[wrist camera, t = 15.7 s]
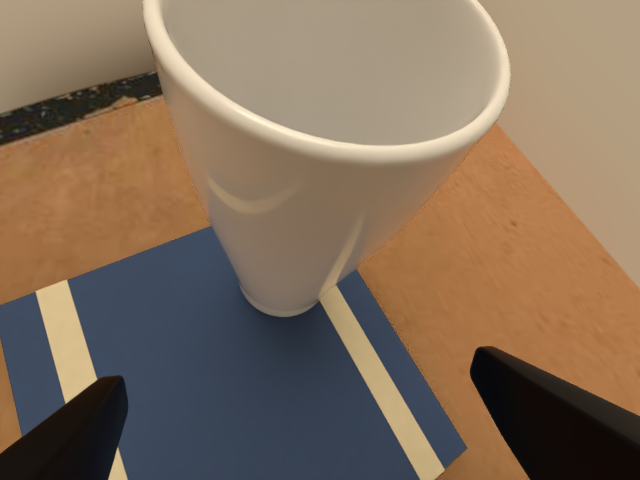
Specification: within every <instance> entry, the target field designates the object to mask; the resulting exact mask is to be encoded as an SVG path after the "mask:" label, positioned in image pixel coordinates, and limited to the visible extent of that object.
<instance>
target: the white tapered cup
mask: <svg viewBox="0 0 640 480" xmlns="http://www.w3.org/2000/svg"><path fill="white" fill-rule="evenodd" d="M142 10H143V20H144V26H145V30H146V33H147V37H148V41H149V44H150V46H151V50H152V54H153V58H154V62H155V66H156V70H157V74H158V78H159V82H160V85H161V89H162V93H163V97H164V100H165V104H166V108H167V111H168V115H169V119H170V122H171V125H172V129H173V132H174V135H175V139H176V142H177V145H178V148H179V151H180V154H181V157H182V160H183V163H184V166H185V168H186V171H187V174H188V176H189V179H190V181H191V184H192V186H193V189H194V191H195V194H196V196H197V198H198V201H199V203H200V205H201V207H202V209H203V211H204V213H205V215H206V217H207V220H208V222H209V223H210V225H211V227H212V229H213V231H214V233H215V235H216V237H217V239H218V241H219V243H220V245H221V246H222V248H223V250H224V252H225V254H226V256H227V258H228V260H229V262H230V264H231V266H232V268H233V270H234V272H235V274H236V276H237V279H238V283H239V286H240V289H241V291H242V293H243V295H244V296H245V298H246V299H247V300H248V302H249V303H250V304H251V305H252V306H254V307H255V308H256V309H258V310H259V311H261V312H263V313H265V314H268V315H271V316H276V317H291V316H296V315H299V314H302V313H304V312H306V311H308V310H309V309H311V308H312V307H313V306H314V305H316V304H317V303H318V301H319V300H320V299H321V298H322V296H323V295H325V294H326V293H327V292H328V291H329V290H331V289H332V288H333V287H334V286H336V285H337V284H338V283H339V282H341V281H342V280H343V279H344V278H346V277H347V276H348V275H350V274H351V273H352V272H353V271H355V270H356V269H357V268H359V267H360V266H361V265H362V264H364V263H365V262H366V261H367V260H369V259H370V258H371V257H372V256H374V255H375V254H376V253H377V252H379V251H380V250H381V249H382V248H383V247H384V246H386V245H387V244H388V243H389V242H390V241H391V240H392V239H393V238H394V237H395V236H396V235H397V234H399V233H400V232H401V231H402V230H403V229H404V228H405V227H406V226H407V225H408V224H409V223H410V222H411V221H412V220H413V219H414V218H415V217H416V216H417V215H418V214H419V212H420V211H421V210H422V209H423V208H424V207H425V206H426V205H427V204H428V203H429V201H430V200H431V199H432V198H433V197H434V196H435V195H436V193H437V192H438V191H439V190H440V189H441V188H442V186H443V185H444V184H445V183H446V182H447V181H448V179H449V178H450V177H451V176H452V174H453V173H454V172H455V171H456V170H457V168H458V167H459V166H460V165H461V164H462V162H463V161H464V160H465V159H466V157H467V156H468V155H469V154H470V152H471V151H472V150H473V149H474V147H475V146H476V145H477V144H478V142H479V141H480V140H481V139H482V138H483V136H484V135H485V134H486V133H487V132H488V131H489V130H490V128H491V127H492V126H493V125H494V124H495V122H496V121H497V119H498V117H499V116H500V114H501V112H502V111H503V109H504V106H505V104H506V101H507V98H508V95H509V90H510V82H511V70H510V61H509V57H508V52H507V49H506V46H505V44H504V41H503V39H502V37H501V34H500V32H499V30H498V28H497V27H496V25H495V24H494V22H493V20H492V19H491V17H490V16H489V14H488V13H487V12H486V10H485V9H484V8H483V7H482V5H481V4H480V3H479V2H478V1H477V0H143V4H142Z"/></svg>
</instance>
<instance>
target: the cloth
mask: <svg viewBox="0 0 640 480" xmlns="http://www.w3.org/2000/svg"><path fill="white" fill-rule="evenodd" d="M0 338H1V343H2V347H3V352H4V356H5V361H6V365H7V370H8V375H9V379H10V384H11V388H12V393H13V397H14V402H15V406H16V411H17V415H18V420H19V424H20V429H21V433H22V437H23V436H24V435H25V434H27V433H28V432H29V431H31V430H32V429H33V428H34V427H36V426H37V425H38V424H40V423H41V422H42V421H44V420H45V419H46V418H48V417H49V416H50V415H52V414H53V413H54V412H55V411H57V410H58V409H59V408H61V407H62V406H63V405H65V404H66V403H67V402H69V401H70V400H71V399H73V398H74V397H75V396H76V395H78V394H79V393H80V392H82V391H83V390H84V389H86V388H87V387H88V386H90V385H91V384H92V383H94V382H95V381H96V380H97V379H99V378H101V377H104V376H115V375H121V376H123V378H124V380H125V386H126V392H127V397H128V414H127V417H126V421H125V424H124V428H123V431H122V434H121V438H120V441H119V445H118V448H117V452H116V455H115V458H114V462H113V465H112V469H111V472H110V476H109V479H108V480H435V479H436V478H437V477H438V476H439V475H440V474H441V473H442V472H443V471H444V470H445V468H446V467H447V466H448V465H449V464H450V463H452V462H453V461H454V460H455V459H456V458H457V457H458V456H459V455H460V454H461V453H462V452H463V451H465V450H466V449H467V447H466V445H465V444H464V442H463V440H462V439H461V437H460V436H459V434H458V432H457V431H456V429H455V427H454V426H453V424H452V423H451V421H450V419H449V418H448V416H447V415H446V413H445V411H444V410H443V408H442V406H441V405H440V403H439V402H438V400H437V398H436V397H435V395H434V394H433V392H432V390H431V389H430V387H429V385H428V384H427V382H426V381H425V379H424V377H423V376H422V374H421V373H420V371H419V369H418V368H417V366H416V364H415V363H414V361H413V360H412V358H411V356H410V355H409V353H408V352H407V350H406V348H405V347H404V345H403V344H402V342H401V340H400V339H399V337H398V335H397V334H396V332H395V331H394V329H393V327H392V326H391V324H390V323H389V321H388V319H387V318H386V316H385V314H384V313H383V311H382V310H381V308H380V306H379V305H378V303H377V302H376V300H375V298H374V297H373V295H372V293H371V292H370V290H369V289H368V287H367V285H366V284H365V282H364V281H363V279H362V277H361V276H360V274H359V272H358V271H357V269H356V270H355V271H353V272H352V273H351V274H350V275H348V276H347V277H346V278H344V279H343V280H342V281H341V282H339V283H338V284H337V285H336V286H334V287H333V288H332V289H331V290H329V291H328V292H327V293H326V294H325V295H323V296H322V298H321V299H320V300H319V301H318V303H317V304H316V305H314V306H313V307H312V308H311V309H309V310H308V311H306V312H304V313H302V314H299V315H296V316H291V317H276V316H271V315H268V314H265V313H263V312H261V311H259V310H258V309H256V308H255V307H254V306H252V305H251V304H250V303H249V302H248V300H247V299H246V298H245V296H244V295H243V293H242V291H241V289H240V286H239V283H238V279H237V276H236V274H235V272H234V270H233V268H232V266H231V264H230V262H229V260H228V258H227V256H226V254H225V252H224V250H223V248H222V246H221V245H220V243H219V241H218V239H217V237H216V235H215V233H214V231H213V229H212V227H211V226H210V227H207V228H205V229H202V230H199V231H197V232H194V233H191V234H189V235H186V236H183V237H181V238H178V239H175V240H173V241H170V242H167V243H165V244H162V245H159V246H157V247H154V248H152V249H149V250H146V251H144V252H141V253H138V254H136V255H133V256H130V257H128V258H125V259H122V260H120V261H117V262H114V263H112V264H109V265H106V266H104V267H101V268H98V269H96V270H93V271H90V272H88V273H85V274H82V275H80V276H77V277H74V278H72V279H69V280H64V281H61V282H59V283H56V284H53V285H51V286H48V287H45V288H43V289H40V290H37V291H36V292H34V293H32V294H29V295H26V296H24V297H21V298H18V299H16V300H13V301H11V302H8V303H5V304H3V305H0Z"/></svg>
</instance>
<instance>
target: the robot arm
mask: <svg viewBox="0 0 640 480" xmlns="http://www.w3.org/2000/svg"><path fill="white" fill-rule="evenodd" d="M470 376H471V379H472V381H473V383H474V385H475V387H476V389H477V391H478V393H479V394H480V396H481V398H482V400H483V402H484V404H485V406H486V407H487V409H488V411H489V413H490V415H491V417H492V419H493V421H494V422H495V424H496V426H497V428H498V430H499V431H500V433H501V435H502V436H503V438H504V440H505V441H506V443H507V444H508V446H509V448H510V449H511V451H512V452H513V454H514V455H515V457H516V458H517V460H518V462H519V463H520V465H521V466H522V468H523V469H524V471H525V472H526V474H527V475H528V477H529V479H530V480H640V416H638V415H636V414H634V413H632V412H630V411H628V410H625V409H623V408H621V407H619V406H617V405H615V404H613V403H611V402H609V401H607V400H604V399H602V398H600V397H598V396H596V395H594V394H592V393H590V392H588V391H586V390H583V389H581V388H579V387H577V386H575V385H573V384H571V383H569V382H567V381H565V380H562V379H560V378H558V377H556V376H554V375H552V374H550V373H548V372H546V371H544V370H541V369H539V368H537V367H535V366H533V365H531V364H529V363H527V362H525V361H523V360H520V359H518V358H516V357H514V356H512V355H510V354H508V353H506V352H504V351H502V350H499V349H497V348H495V347H493V346H484V347H478V348H477V349H476V351H475V354H474V357H473V361H472V364H471V368H470ZM127 414H128V397H127V392H126V386H125V380H124V378H123V376H121V375H115V376H104V377H101V378H99V379H97V380H96V381H95V382H94V383H92V384H91V385H90V386H88V387H87V388H86V389H84V390H83V391H82V392H80V393H79V394H78V395H76V396H75V397H74V398H73V399H71V400H70V401H69V402H67V403H66V404H65V405H63V406H62V407H61V408H59V409H58V410H57V411H55V412H54V413H53V414H52V415H50V416H49V417H48V418H46V419H45V420H44V421H42V422H41V423H40V424H38V425H37V426H36V427H34V428H33V429H32V430H31V431H29V432H28V433H27V434H25V435H24V436H23V437H21V438H20V439H19V440H17V441H16V442H15V443H13V444H12V445H11V446H10V447H8V448H7V449H6V450H4V451H3V452H2V453H0V480H108V479H109V476H110V472H111V469H112V465H113V462H114V458H115V455H116V452H117V448H118V445H119V441H120V438H121V434H122V431H123V428H124V424H125V421H126V417H127Z"/></svg>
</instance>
